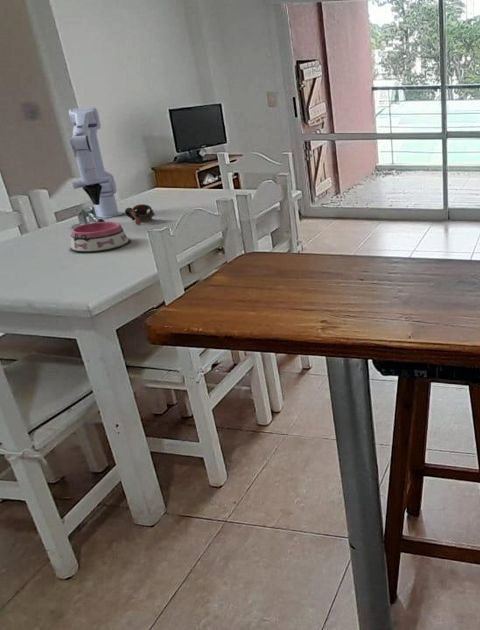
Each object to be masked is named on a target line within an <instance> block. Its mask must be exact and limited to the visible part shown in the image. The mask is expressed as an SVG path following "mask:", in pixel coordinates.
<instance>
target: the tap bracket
mask: <svg viewBox="0 0 480 630" xmlns="http://www.w3.org/2000/svg"><path fill="white" fill-rule="evenodd" d="M85 208H88V209H89V210H90V211H91V214H92V215H94V216H95V217H97V216H96V212H95V208H94V206H90V205H87V206H85ZM75 211H76V214H77V219H78V222H79V223H75V224H72V225H71V228H72V229H73V228H75V227H77V226H80V225H84V224H89V223H96V221H94V220H93V219H92V218H90V217H89V216H88V219H87V217H86V215H85V211H84V209H83V208H80V207H76V208H75Z"/></svg>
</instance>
